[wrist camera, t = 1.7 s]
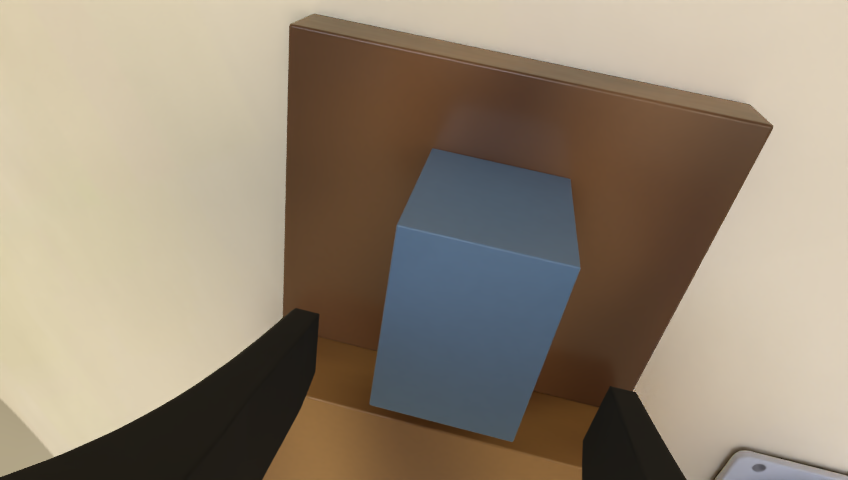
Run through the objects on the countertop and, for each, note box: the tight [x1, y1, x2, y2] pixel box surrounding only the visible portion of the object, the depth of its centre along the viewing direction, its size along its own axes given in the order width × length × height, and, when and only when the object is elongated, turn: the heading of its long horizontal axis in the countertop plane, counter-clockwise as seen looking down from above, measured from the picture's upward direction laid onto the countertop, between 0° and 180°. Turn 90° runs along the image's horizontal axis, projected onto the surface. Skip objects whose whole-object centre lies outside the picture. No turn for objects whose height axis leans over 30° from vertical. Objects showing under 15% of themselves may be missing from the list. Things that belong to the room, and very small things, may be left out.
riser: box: [262, 14, 773, 480], centre depth 20 cm, size 14×21×5 cm, turn 171°
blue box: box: [369, 148, 581, 442], centre depth 16 cm, size 4×6×5 cm
